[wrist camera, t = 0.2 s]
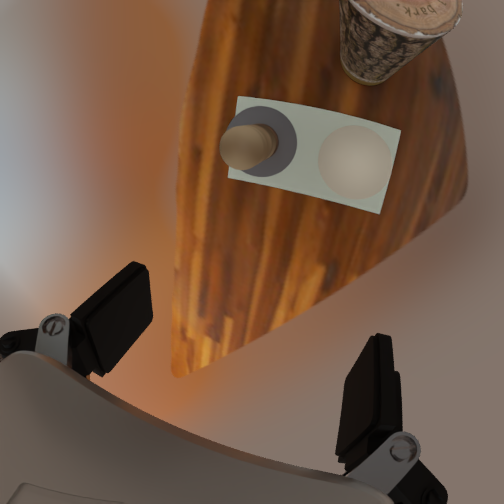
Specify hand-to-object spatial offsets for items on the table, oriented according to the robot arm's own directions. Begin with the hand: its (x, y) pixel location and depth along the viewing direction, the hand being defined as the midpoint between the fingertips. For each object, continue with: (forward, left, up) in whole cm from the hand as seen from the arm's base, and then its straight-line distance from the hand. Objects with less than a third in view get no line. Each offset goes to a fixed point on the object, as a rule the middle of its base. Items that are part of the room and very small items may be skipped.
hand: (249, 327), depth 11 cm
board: (-3, -1, -31) cm, 31 cm away
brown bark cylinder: (-17, +4, -31) cm, 36 cm away
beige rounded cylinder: (-3, -8, -30) cm, 31 cm away
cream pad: (-3, +5, -31) cm, 32 cm away
